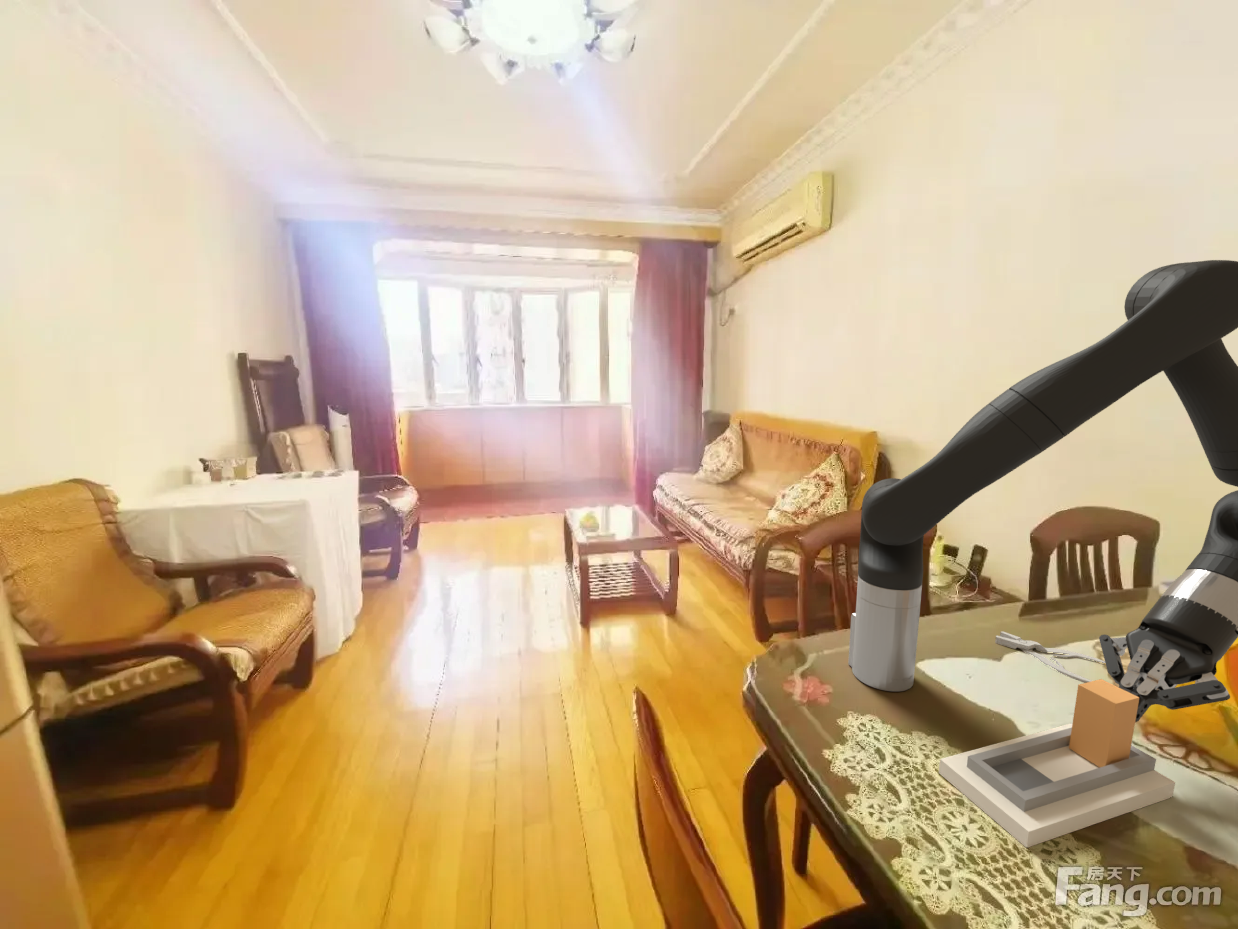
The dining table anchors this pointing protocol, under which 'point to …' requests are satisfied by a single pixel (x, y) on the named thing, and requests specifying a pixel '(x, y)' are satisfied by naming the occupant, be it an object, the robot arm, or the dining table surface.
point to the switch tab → (1103, 722)
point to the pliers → (1027, 647)
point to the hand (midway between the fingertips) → (1117, 718)
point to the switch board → (1052, 785)
